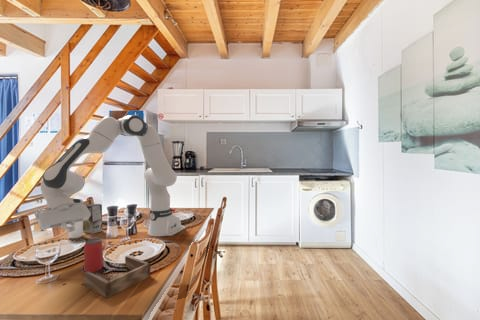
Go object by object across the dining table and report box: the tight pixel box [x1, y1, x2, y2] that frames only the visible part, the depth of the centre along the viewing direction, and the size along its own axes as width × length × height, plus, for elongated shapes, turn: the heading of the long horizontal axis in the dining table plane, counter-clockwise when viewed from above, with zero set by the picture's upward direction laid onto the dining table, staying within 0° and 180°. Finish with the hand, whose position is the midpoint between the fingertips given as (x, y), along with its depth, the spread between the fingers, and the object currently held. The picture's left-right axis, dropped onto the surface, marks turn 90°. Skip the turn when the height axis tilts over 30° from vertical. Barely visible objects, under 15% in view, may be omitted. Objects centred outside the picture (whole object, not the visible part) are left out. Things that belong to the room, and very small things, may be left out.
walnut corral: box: [84, 255, 151, 299], centre depth 96 cm, size 17×14×5 cm
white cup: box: [67, 221, 84, 239], centre depth 144 cm, size 8×8×10 cm
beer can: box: [83, 238, 104, 273], centre depth 105 cm, size 7×7×12 cm
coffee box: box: [83, 202, 103, 234], centre depth 153 cm, size 9×6×16 cm
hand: (71, 231), depth 114 cm, fingers closed
